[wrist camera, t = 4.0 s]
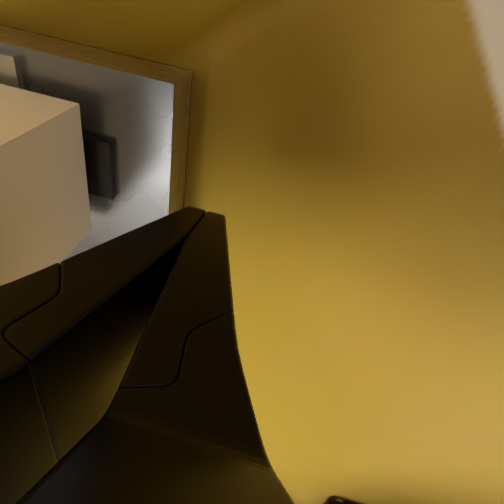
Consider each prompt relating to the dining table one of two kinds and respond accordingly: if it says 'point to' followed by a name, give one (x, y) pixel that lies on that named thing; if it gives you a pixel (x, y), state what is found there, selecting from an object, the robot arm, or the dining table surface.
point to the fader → (40, 182)
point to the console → (112, 125)
